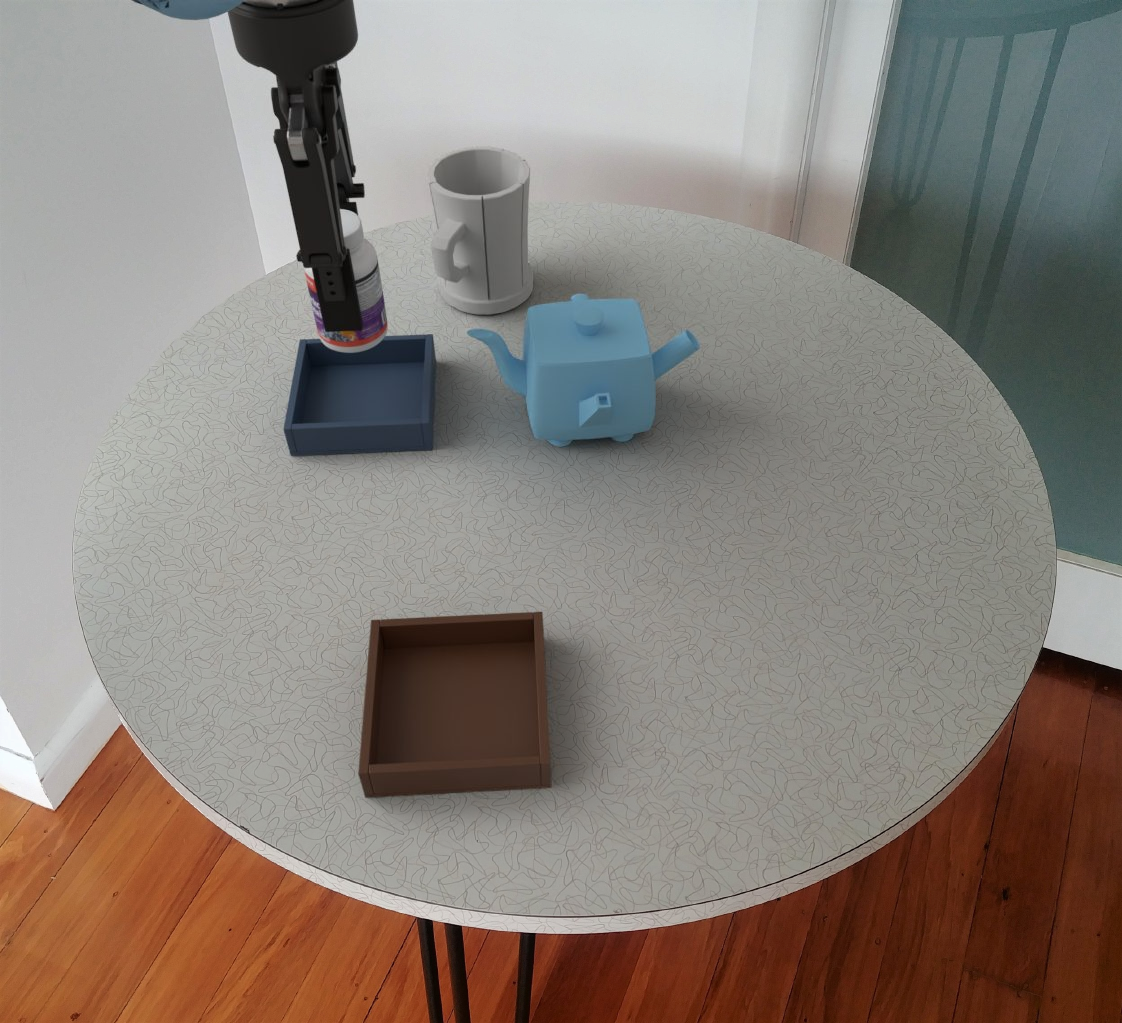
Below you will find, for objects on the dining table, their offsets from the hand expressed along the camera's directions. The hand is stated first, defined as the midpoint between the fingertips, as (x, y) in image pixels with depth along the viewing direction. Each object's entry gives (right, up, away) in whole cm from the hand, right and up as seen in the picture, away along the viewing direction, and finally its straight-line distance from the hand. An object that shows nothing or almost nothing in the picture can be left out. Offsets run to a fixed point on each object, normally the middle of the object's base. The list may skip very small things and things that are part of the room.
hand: (347, 302), depth 80 cm
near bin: (+10, -29, -13) cm, 33 cm away
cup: (+9, +4, +18) cm, 21 cm away
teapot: (+18, -9, +6) cm, 21 cm away
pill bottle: (0, -2, +2) cm, 3 cm away
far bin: (0, -7, +8) cm, 10 cm away
